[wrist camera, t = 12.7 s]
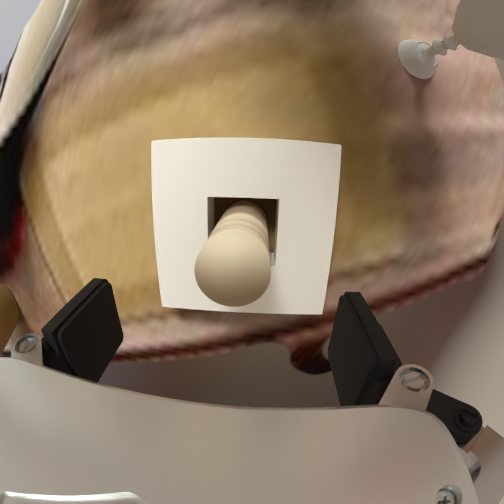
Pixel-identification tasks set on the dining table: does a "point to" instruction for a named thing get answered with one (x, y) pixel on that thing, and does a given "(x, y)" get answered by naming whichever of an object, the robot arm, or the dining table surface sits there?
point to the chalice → (459, 37)
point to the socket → (246, 186)
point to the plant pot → (7, 316)
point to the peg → (236, 257)
